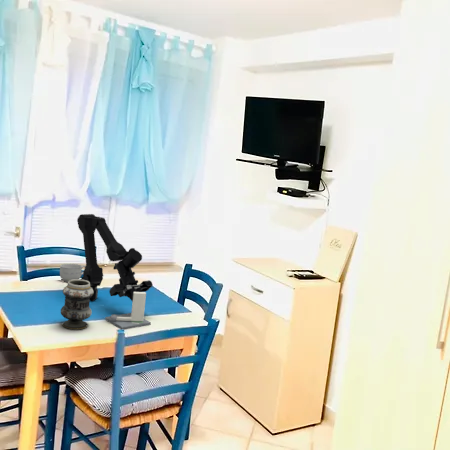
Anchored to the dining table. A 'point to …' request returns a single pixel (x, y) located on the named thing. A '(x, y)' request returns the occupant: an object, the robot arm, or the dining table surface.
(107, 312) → the dining table surface
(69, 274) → the teacup
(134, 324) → the dial board
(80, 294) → the grey ornate vase
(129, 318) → the dial crank handle
